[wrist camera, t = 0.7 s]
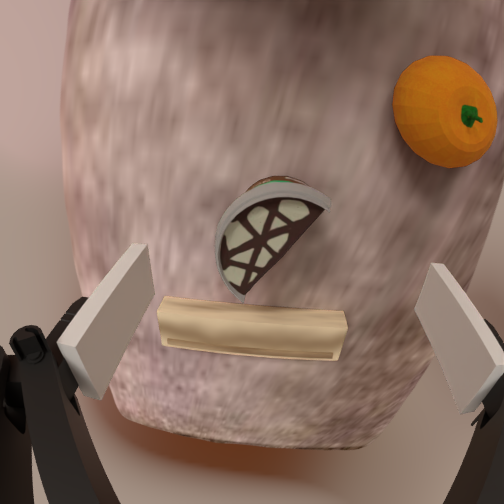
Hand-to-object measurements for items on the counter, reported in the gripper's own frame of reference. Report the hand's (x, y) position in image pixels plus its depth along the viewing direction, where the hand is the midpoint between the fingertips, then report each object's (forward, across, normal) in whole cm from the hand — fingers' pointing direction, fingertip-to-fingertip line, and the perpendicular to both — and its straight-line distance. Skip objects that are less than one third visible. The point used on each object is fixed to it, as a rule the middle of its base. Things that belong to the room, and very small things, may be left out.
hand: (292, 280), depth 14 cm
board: (+21, -3, -21) cm, 29 cm away
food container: (+21, -2, -4) cm, 22 cm away
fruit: (+22, +16, +9) cm, 28 cm away
